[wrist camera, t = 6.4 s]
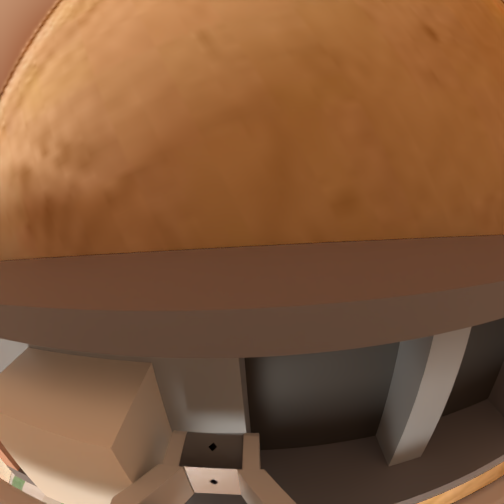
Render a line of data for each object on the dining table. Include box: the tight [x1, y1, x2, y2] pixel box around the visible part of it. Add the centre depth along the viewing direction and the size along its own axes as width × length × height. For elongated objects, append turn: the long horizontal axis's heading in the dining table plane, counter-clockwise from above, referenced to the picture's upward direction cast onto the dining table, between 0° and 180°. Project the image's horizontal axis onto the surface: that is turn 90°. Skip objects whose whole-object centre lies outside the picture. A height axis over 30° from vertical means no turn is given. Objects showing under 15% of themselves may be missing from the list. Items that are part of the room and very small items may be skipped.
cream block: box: [0, 347, 172, 504], centre depth 8 cm, size 6×6×4 cm
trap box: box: [0, 235, 504, 504], centre depth 10 cm, size 32×12×6 cm, turn 93°
